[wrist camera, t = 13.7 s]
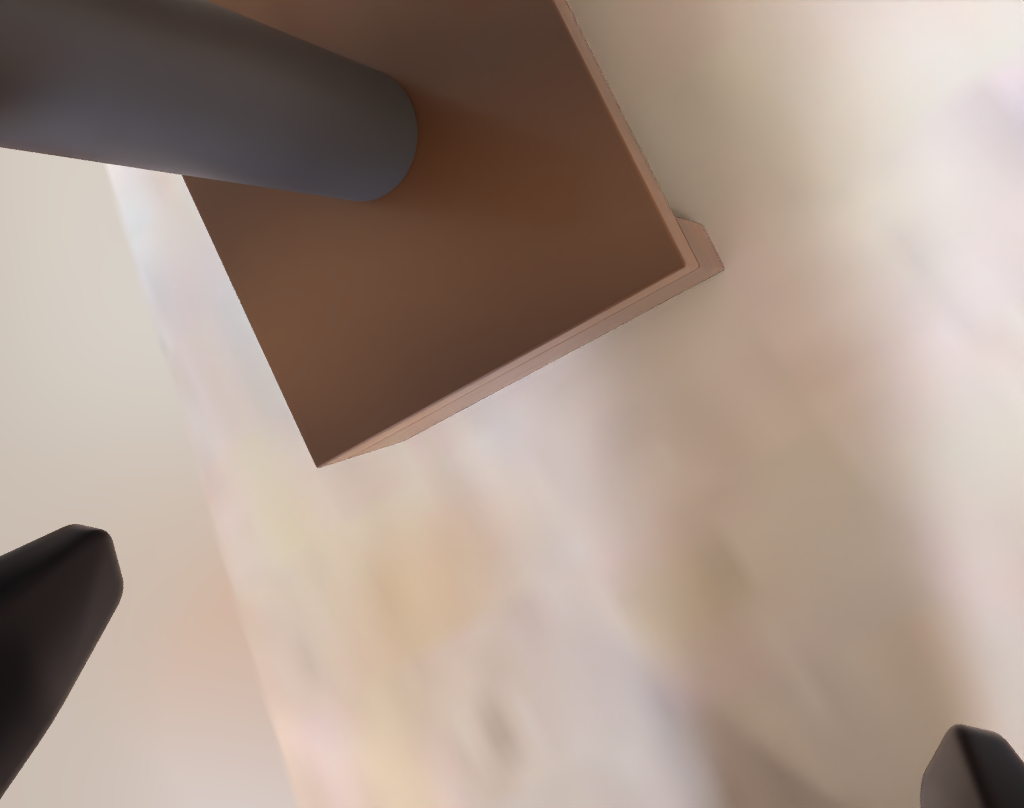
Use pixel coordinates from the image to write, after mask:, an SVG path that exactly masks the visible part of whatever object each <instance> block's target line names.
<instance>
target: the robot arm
mask: <svg viewBox="0 0 1024 808" xmlns="http://www.w3.org/2000/svg"><path fill="white" fill-rule="evenodd" d="M122 593H123V578H122V574H121V571H120V567H119V563H118V559H117V555H116V552H115V548H114V544H113V540H112V538H111V536H110V535H109V534H108V533H107V532H106V531H104V530H102V529H97V528H93V527H89V526H84V525H78V524H72V525H68V526H65V527H62V528H60V529H58V530H56V531H54V532H52V533H49V534H47V535H45V536H43V537H41V538H39V539H36V540H34V541H32V542H30V543H28V544H26V545H23V546H21V547H19V548H17V549H15V550H13V551H11V552H8V553H6V554H4V555H2V556H0V799H1V797H2V796H3V794H4V793H5V791H6V790H7V788H8V787H9V785H10V784H11V783H12V781H13V780H14V778H15V777H16V775H17V774H18V772H19V771H20V770H21V768H22V767H23V765H24V763H25V762H26V761H27V759H28V758H29V757H30V755H31V754H32V752H33V751H34V749H35V748H36V746H37V745H38V743H39V742H40V740H41V739H42V737H43V736H44V734H45V733H46V731H47V730H48V728H49V727H50V725H51V724H52V722H53V720H54V719H55V717H56V715H57V714H58V712H59V710H60V709H61V707H62V705H63V704H64V702H65V700H66V698H67V696H68V695H69V693H70V691H71V689H72V687H73V686H74V684H75V682H76V680H77V678H78V677H79V675H80V673H81V671H82V669H83V668H84V666H85V664H86V662H87V660H88V659H89V657H90V655H91V653H92V651H93V650H94V647H95V646H96V644H97V642H98V641H99V639H100V637H101V635H102V633H103V631H104V630H105V628H106V626H107V624H108V622H109V621H110V619H111V617H112V615H113V613H114V612H115V610H116V608H117V606H118V604H119V602H120V599H121V596H122ZM920 805H921V808H1024V762H1023V761H1022V760H1021V759H1020V757H1019V756H1018V755H1017V753H1016V752H1015V751H1014V749H1013V748H1012V747H1011V746H1010V744H1009V743H1008V742H1007V741H1006V740H1005V739H1004V738H1003V737H1002V736H1001V735H999V734H997V733H995V732H992V731H988V730H984V729H979V728H975V727H970V726H966V725H962V724H956V725H954V726H952V727H951V728H950V729H949V730H948V731H947V732H946V734H945V736H944V738H943V740H942V741H941V743H940V745H939V747H938V749H937V750H936V752H935V754H934V756H933V758H932V759H931V761H930V763H929V765H928V767H927V768H926V770H925V772H924V775H923V778H922V783H921V791H920Z"/></svg>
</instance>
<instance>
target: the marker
mask: <svg viewBox="0 0 1024 808" xmlns="http://www.w3.org/2000/svg"><path fill="white" fill-rule="evenodd" d="M417 138H418V127H417V119H416V115H415V111H414V108H413V105H412V103H411V100H410V99H409V97H408V95H407V93H406V92H405V90H404V89H403V88H402V86H401V85H400V84H399V83H398V82H397V81H396V80H394V79H393V78H392V77H390V76H389V75H387V74H385V73H383V72H380V71H378V70H375V69H373V68H371V67H368V66H366V65H363V64H361V63H358V62H356V61H353V60H351V59H349V58H346V57H344V56H341V55H339V54H336V53H334V52H331V51H329V50H327V49H324V48H322V47H319V46H317V45H314V44H312V43H309V42H307V41H304V40H302V39H300V38H297V37H295V36H292V35H290V34H287V33H285V32H282V31H280V30H278V29H275V28H273V27H270V26H268V25H265V24H263V23H260V22H258V21H256V20H253V19H251V18H248V17H246V16H243V15H241V14H238V13H236V12H234V11H231V10H229V9H226V8H224V7H221V6H219V5H216V4H214V3H212V2H209V1H207V0H0V147H3V148H9V149H16V150H22V151H29V152H36V153H42V154H49V155H56V156H62V157H69V158H76V159H82V160H89V161H95V162H102V163H108V164H115V165H121V166H128V167H134V168H141V169H148V170H154V171H161V172H167V173H174V174H181V175H187V176H194V177H200V178H207V179H213V180H220V181H227V182H233V183H240V184H246V185H253V186H260V187H266V188H273V189H279V190H286V191H292V192H299V193H306V194H312V195H319V196H325V197H332V198H339V199H345V200H352V201H371V200H375V199H378V198H380V197H382V196H384V195H386V194H387V193H389V192H390V191H392V190H393V189H394V188H395V187H396V186H397V185H398V184H399V183H400V182H401V181H402V179H403V178H404V177H405V175H406V174H407V172H408V170H409V168H410V166H411V164H412V162H413V159H414V155H415V152H416V147H417Z"/></svg>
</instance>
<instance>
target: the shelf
mask: <svg viewBox="0 0 1024 808" xmlns="http://www.w3.org/2000/svg"><path fill="white" fill-rule="evenodd" d="M207 1H209V2H212V3H214V4H216V5H219V6H221V7H224V8H226V9H229V10H231V11H234V12H236V13H238V14H241V15H243V16H246V17H248V18H251V19H253V20H256V21H258V22H260V23H263V24H265V25H268V26H270V27H273V28H275V29H278V30H280V31H282V32H285V33H287V34H290V35H292V36H295V37H297V38H300V39H302V40H304V41H307V42H309V43H312V44H314V45H317V46H319V47H322V48H324V49H327V50H329V51H331V52H334V53H336V54H339V55H341V56H344V57H346V58H349V59H351V60H353V61H356V62H358V63H361V64H363V65H366V66H368V67H371V68H373V69H375V70H378V71H380V72H383V73H385V74H387V75H389V76H390V77H392V78H393V79H394V80H396V81H397V82H398V83H399V84H400V85H401V86H402V88H403V89H404V90H405V92H406V93H407V95H408V97H409V99H410V100H411V103H412V105H413V108H414V111H415V115H416V119H417V127H418V138H417V147H416V152H415V155H414V159H413V162H412V164H411V166H410V168H409V170H408V172H407V174H406V175H405V177H404V178H403V179H402V181H401V182H400V183H399V184H398V185H397V186H396V187H395V188H394V189H393V190H392V191H390V192H389V193H387V194H386V195H384V196H382V197H380V198H378V199H375V200H371V201H352V200H345V199H339V198H332V197H325V196H319V195H312V194H306V193H299V192H292V191H286V190H279V189H273V188H266V187H260V186H253V185H246V184H240V183H233V182H227V181H220V180H213V179H207V178H200V177H194V176H187V175H182V176H183V179H184V181H185V183H186V185H187V187H188V189H189V192H190V194H191V196H192V198H193V200H194V202H195V205H196V207H197V209H198V211H199V213H200V216H201V218H202V220H203V222H204V224H205V226H206V229H207V231H208V233H209V235H210V237H211V239H212V242H213V244H214V246H215V248H216V250H217V252H218V255H219V257H220V259H221V261H222V263H223V265H224V268H225V270H226V272H227V274H228V276H229V278H230V281H231V283H232V285H233V287H234V289H235V291H236V294H237V296H238V298H239V300H240V302H241V304H242V307H243V309H244V311H245V313H246V315H247V317H248V320H249V322H250V324H251V326H252V328H253V331H254V333H255V335H256V337H257V339H258V341H259V344H260V346H261V348H262V350H263V352H264V354H265V357H266V359H267V361H268V363H269V365H270V367H271V370H272V372H273V374H274V376H275V378H276V380H277V383H278V385H279V387H280V389H281V391H282V393H283V396H284V398H285V400H286V402H287V404H288V406H289V409H290V411H291V413H292V415H293V417H294V419H295V422H296V424H297V426H298V428H299V430H300V432H301V435H302V437H303V439H304V441H305V443H306V446H307V448H308V450H309V452H310V454H311V456H312V459H313V461H314V463H315V465H316V467H317V468H321V467H324V466H327V465H330V464H333V463H336V462H340V461H343V460H346V459H349V458H352V457H355V456H358V455H362V454H365V453H368V452H371V451H374V450H377V449H380V448H384V447H387V446H390V445H393V444H396V443H399V442H402V441H405V440H407V439H409V438H411V437H413V436H414V435H416V434H418V433H420V432H422V431H424V430H426V429H427V428H429V427H431V426H433V425H435V424H437V423H439V422H441V421H442V420H444V419H446V418H448V417H450V416H452V415H454V414H456V413H457V412H459V411H461V410H463V409H465V408H467V407H469V406H470V405H472V404H474V403H476V402H478V401H480V400H482V399H484V398H485V397H487V396H489V395H491V394H493V393H495V392H497V391H499V390H500V389H502V388H504V387H506V386H508V385H510V384H512V383H514V382H515V381H517V380H519V379H521V378H523V377H525V376H527V375H528V374H530V373H532V372H534V371H536V370H538V369H540V368H542V367H543V366H545V365H547V364H549V363H551V362H553V361H555V360H557V359H558V358H560V357H562V356H564V355H566V354H568V353H570V352H571V351H573V350H575V349H577V348H579V347H581V346H583V345H585V344H586V343H588V342H590V341H592V340H594V339H596V338H598V337H600V336H601V335H603V334H605V333H607V332H609V331H611V330H613V329H614V328H616V327H618V326H620V325H622V324H624V323H626V322H628V321H629V320H631V319H633V318H635V317H637V316H639V315H641V314H643V313H644V312H646V311H648V310H650V309H652V308H654V307H656V306H657V305H659V304H661V303H663V302H665V301H667V300H669V299H671V298H672V297H674V296H676V295H678V294H680V293H682V292H684V291H686V290H687V289H689V288H691V287H693V286H695V285H697V284H699V283H700V282H702V281H704V280H706V279H708V278H710V277H712V276H714V275H715V274H717V273H719V272H721V271H723V270H724V266H723V264H722V262H721V260H720V258H719V256H718V254H717V252H716V250H715V248H714V246H713V244H712V242H711V240H710V238H709V236H708V234H707V232H706V230H705V228H704V226H703V225H701V224H698V223H695V222H691V221H688V220H685V219H681V218H678V217H675V216H674V215H673V213H672V211H671V209H670V207H669V205H668V203H667V201H666V199H665V197H664V195H663V193H662V191H661V189H660V187H659V185H658V183H657V181H656V179H655V177H654V175H653V173H652V171H651V169H650V167H649V165H648V163H647V161H646V159H645V157H644V155H643V153H642V151H641V149H640V147H639V145H638V143H637V142H636V140H635V138H634V136H633V134H632V132H631V130H630V128H629V126H628V124H627V122H626V120H625V118H624V116H623V114H622V112H621V110H620V108H619V106H618V104H617V102H616V100H615V98H614V96H613V94H612V92H611V90H610V88H609V86H608V84H607V82H606V80H605V78H604V76H603V74H602V72H601V70H600V68H599V66H598V64H597V62H596V60H595V58H594V56H593V54H592V52H591V50H590V48H589V46H588V44H587V42H586V40H585V38H584V36H583V34H582V32H581V31H580V29H579V27H578V25H577V23H576V21H575V19H574V17H573V15H572V13H571V11H570V9H569V7H568V5H567V3H566V1H565V0H207Z"/></svg>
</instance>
